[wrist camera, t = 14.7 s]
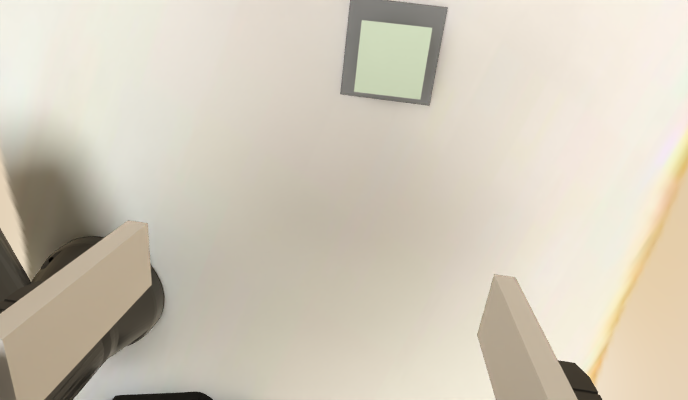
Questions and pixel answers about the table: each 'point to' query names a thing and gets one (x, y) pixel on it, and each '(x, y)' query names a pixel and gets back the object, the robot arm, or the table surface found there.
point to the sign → (165, 396)
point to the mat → (375, 6)
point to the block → (392, 59)
